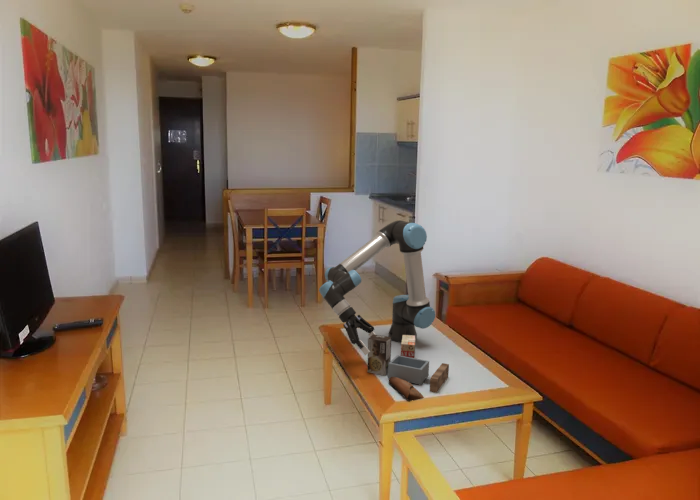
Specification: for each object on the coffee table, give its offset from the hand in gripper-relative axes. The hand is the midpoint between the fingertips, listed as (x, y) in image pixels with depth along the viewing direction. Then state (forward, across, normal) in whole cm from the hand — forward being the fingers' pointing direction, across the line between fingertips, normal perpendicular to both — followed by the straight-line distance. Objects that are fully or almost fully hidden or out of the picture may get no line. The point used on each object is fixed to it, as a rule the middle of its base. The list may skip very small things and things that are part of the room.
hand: (373, 348), depth 243 cm
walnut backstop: (+29, -1, +14) cm, 32 cm away
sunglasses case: (+22, +12, +6) cm, 26 cm away
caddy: (+19, -1, +4) cm, 20 cm away
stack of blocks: (+14, -20, -1) cm, 24 cm away
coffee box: (+10, -1, -6) cm, 11 cm away
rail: (+21, -1, +6) cm, 22 cm away
